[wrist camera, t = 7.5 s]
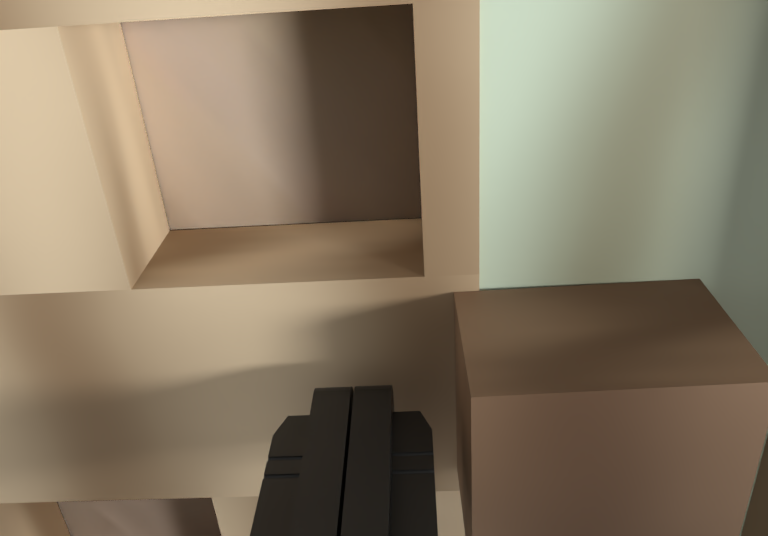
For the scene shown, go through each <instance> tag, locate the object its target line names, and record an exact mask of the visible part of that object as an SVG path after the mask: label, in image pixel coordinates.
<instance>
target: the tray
mask: <svg viewBox="0 0 768 536" xmlns="http://www.w3.org/2000/svg"><path fill="white" fill-rule="evenodd" d="M397 4H412V8H413V31H414V54H415V77H416V100H417V124H418V147H419V170H420V193H421V216H422V218H418V219H397V220H377V221H356V222H335V223H315V224H294V225H273V226H253V227H232V228H211V229H191V230H170V229H169V225H168V221H167V217H166V212H165V208H164V204H163V200H162V196H161V191H160V187H159V183H158V179H157V175H156V170H155V166H154V162H153V158H152V154H151V150H150V145H149V141H148V137H147V133H146V129H145V124H144V120H143V116H142V112H141V108H140V103H139V99H138V95H137V91H136V87H135V82H134V78H133V74H132V70H131V66H130V61H129V57H128V53H127V49H126V45H125V40H124V36H123V32H122V28H121V24H120V22H135V21H151V20H166V19H181V18H197V17H212V16H228V15H243V14H259V13H274V12H289V11H305V10H320V9H336V8H351V7H367V6H382V5H397ZM683 279H700V280H701V281H702V282H703V283H704V285H705V286H706V287H707V289H708V290H709V291H710V292H711V294H712V295H713V296H714V298H715V299H716V300H717V301H718V303H719V304H720V305H721V307H722V308H723V309H724V310H725V312H726V313H727V314H728V315H729V317H730V318H731V319H732V321H733V322H734V323H735V324H736V326H737V327H738V328H739V330H740V331H741V332H742V333H743V335H744V336H745V337H746V339H747V340H748V341H749V342H750V344H751V345H752V346H753V347H754V349H755V350H756V351H757V353H758V354H759V355H760V356H761V358H762V359H763V360H764V362H765V363H766V364H767V365H768V0H0V536H71V535H70V533H69V530H68V528H67V526H66V523H65V521H64V518H63V516H62V514H61V511H60V509H59V506H58V504H57V502H68V501H104V500H141V499H177V498H212V501H213V505H214V509H215V513H216V517H217V521H218V525H219V528H220V532H221V536H250V532H251V528H252V524H253V519H254V515H255V511H256V506H257V502H258V498H259V493H260V489H261V485H262V480H263V479H264V472H265V467H266V463H267V461H268V454H269V450H270V445H271V441H272V437H273V434H274V433H275V432H276V430H277V429H278V428H279V427H280V425H281V424H282V423H283V422H284V420H285V419H286V418H287V416H296V415H310V410H311V404H312V398H313V393H314V389H315V388H327V387H353V390H354V388H355V386H376V385H392V387H393V397H394V411H395V412H403V411H421V413H422V415H423V416H424V418H425V419H426V421H427V422H428V424H429V425H430V427H431V428H432V436H433V454H434V473H435V490H436V509H437V527H438V536H465V529H464V521H463V513H462V505H461V497H460V489H459V480H458V472H457V435H456V384H455V334H454V292H467V291H485V290H503V289H521V288H539V287H557V286H575V285H593V284H611V283H629V282H647V281H665V280H683ZM740 536H768V430H767V434H766V437H765V441H764V445H763V449H762V452H761V456H760V460H759V464H758V468H757V471H756V475H755V479H754V483H753V486H752V490H751V494H750V498H749V502H748V505H747V509H746V513H745V517H744V520H743V524H742V528H741V532H740Z"/></svg>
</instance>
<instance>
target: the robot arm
mask: <svg viewBox="0 0 768 536" xmlns="http://www.w3.org/2000/svg"><path fill="white" fill-rule="evenodd" d="M250 536H438V527H437V509H436V490H435V473H434V454H433V436H432V428H431V427H430V425H429V424H428V422H427V421H426V419H425V418H424V416H423V415H422V413H421V411H403V412H395V411H394V397H393V387H392V385H376V386H355V388H354V390H353V387H327V388H315V389H314V393H313V398H312V404H311V410H310V415H296V416H287V418H286V419H285V420H284V422H283V423H282V424H281V425H280V427H279V428H278V429H277V430H276V432H275V433H274V434H273V437H272V441H271V445H270V450H269V454H268V461H267V463H266V467H265V472H264V479H263V480H262V485H261V489H260V493H259V498H258V502H257V506H256V511H255V515H254V519H253V524H252V528H251V532H250Z"/></svg>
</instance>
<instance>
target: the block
mask: <svg viewBox="0 0 768 536" xmlns="http://www.w3.org/2000/svg"><path fill="white" fill-rule="evenodd" d="M454 334H455V384H456V435H457V472H458V480H459V489H460V497H461V505H462V513H463V521H464V529H465V536H740V532H741V528H742V524H743V520H744V517H745V513H746V509H747V505H748V502H749V498H750V494H751V490H752V486H753V483H754V479H755V475H756V471H757V468H758V464H759V460H760V456H761V452H762V449H763V445H764V441H765V437H766V434H767V430H768V365H767V364H766V363H765V362H764V360H763V359H762V358H761V356H760V355H759V354H758V353H757V351H756V350H755V349H754V347H753V346H752V345H751V344H750V342H749V341H748V340H747V339H746V337H745V336H744V335H743V333H742V332H741V331H740V330H739V328H738V327H737V326H736V324H735V323H734V322H733V321H732V319H731V318H730V317H729V315H728V314H727V313H726V312H725V310H724V309H723V308H722V307H721V305H720V304H719V303H718V301H717V300H716V299H715V298H714V296H713V295H712V294H711V292H710V291H709V290H708V289H707V287H706V286H705V285H704V283H703V282H702V281H701V280H700V279H683V280H665V281H647V282H629V283H611V284H593V285H575V286H557V287H539V288H521V289H503V290H485V291H467V292H454Z"/></svg>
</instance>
